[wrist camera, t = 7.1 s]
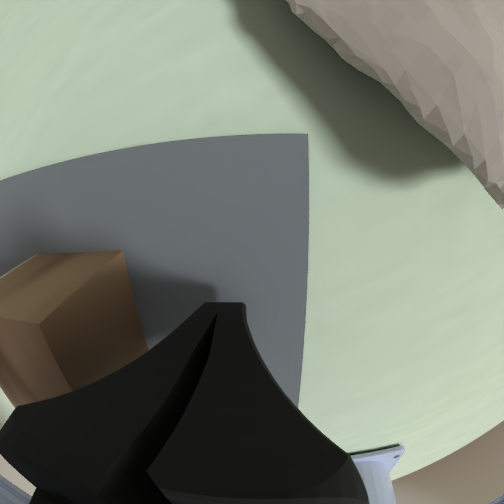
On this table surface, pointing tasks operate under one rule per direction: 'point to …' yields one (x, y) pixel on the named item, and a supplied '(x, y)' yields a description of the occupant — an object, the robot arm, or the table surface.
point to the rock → (430, 67)
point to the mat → (183, 231)
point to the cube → (66, 324)
